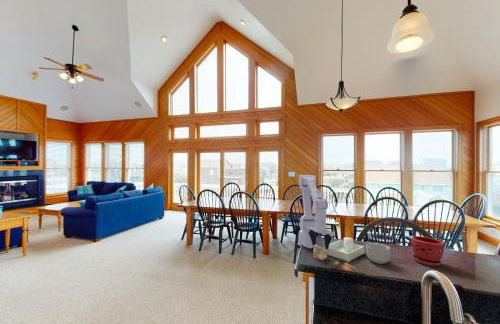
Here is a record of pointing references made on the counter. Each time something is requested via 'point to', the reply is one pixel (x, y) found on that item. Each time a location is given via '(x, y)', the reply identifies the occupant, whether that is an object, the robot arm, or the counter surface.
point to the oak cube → (319, 253)
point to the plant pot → (427, 250)
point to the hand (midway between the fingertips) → (320, 246)
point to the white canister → (348, 244)
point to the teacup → (378, 253)
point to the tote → (338, 251)
